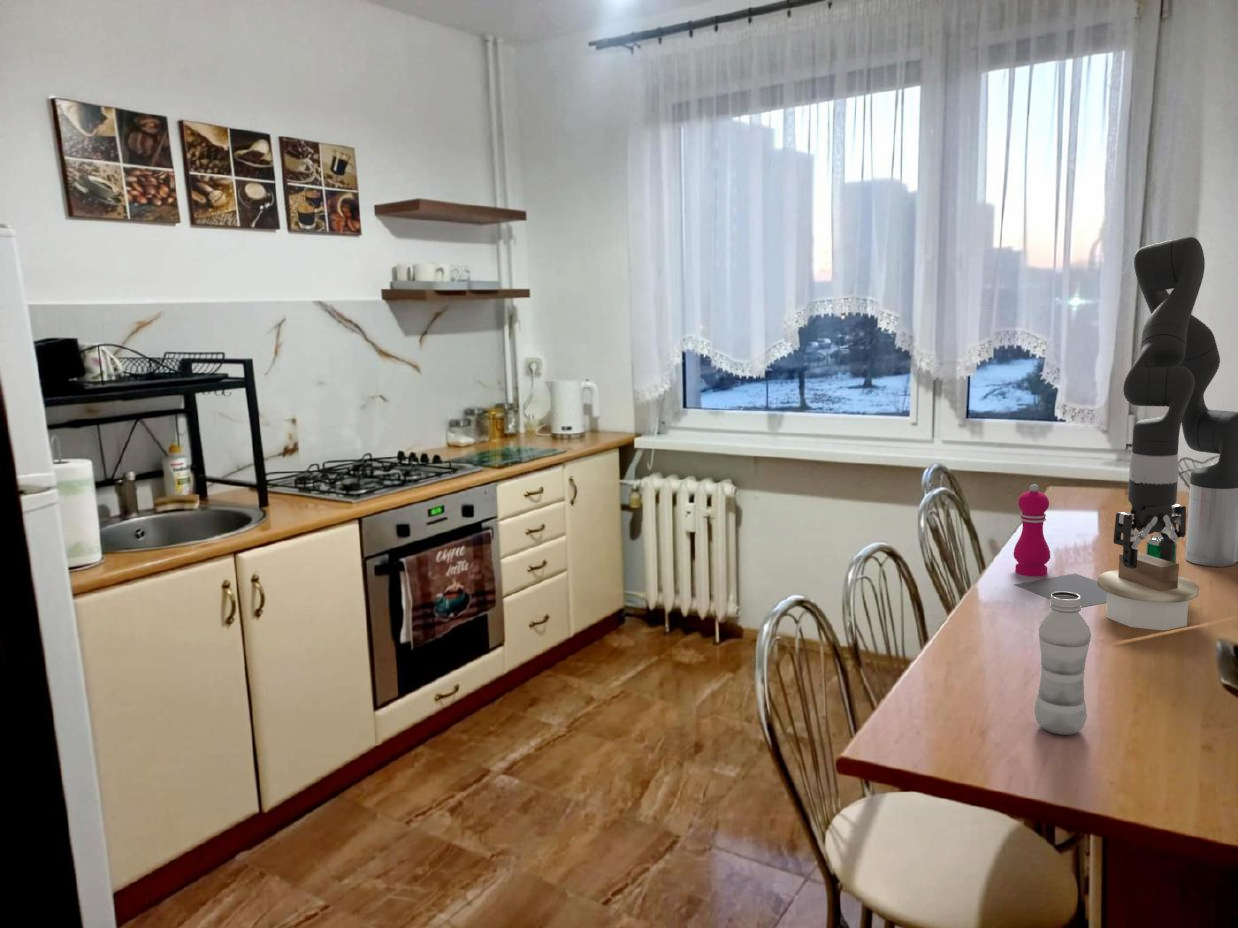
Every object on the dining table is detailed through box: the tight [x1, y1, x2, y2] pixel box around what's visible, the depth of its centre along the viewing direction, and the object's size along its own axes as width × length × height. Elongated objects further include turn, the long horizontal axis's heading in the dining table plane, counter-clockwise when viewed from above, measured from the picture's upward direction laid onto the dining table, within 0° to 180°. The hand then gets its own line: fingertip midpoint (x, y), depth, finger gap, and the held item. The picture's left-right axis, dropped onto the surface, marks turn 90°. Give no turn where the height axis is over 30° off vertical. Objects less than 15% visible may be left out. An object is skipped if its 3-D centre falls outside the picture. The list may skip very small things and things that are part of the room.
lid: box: [1097, 551, 1200, 603], centre depth 161 cm, size 16×16×6 cm
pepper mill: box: [1013, 483, 1051, 578], centre depth 189 cm, size 7×7×20 cm
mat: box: [1013, 573, 1107, 609], centre depth 178 cm, size 16×16×1 cm
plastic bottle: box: [1034, 592, 1092, 736], centre depth 123 cm, size 6×7×20 cm
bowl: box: [1105, 592, 1189, 631], centre depth 162 cm, size 13×13×6 cm
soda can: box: [1145, 534, 1178, 564], centre depth 172 cm, size 5×5×12 cm
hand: (1148, 563), depth 160 cm, fingers open, 8 cm apart
